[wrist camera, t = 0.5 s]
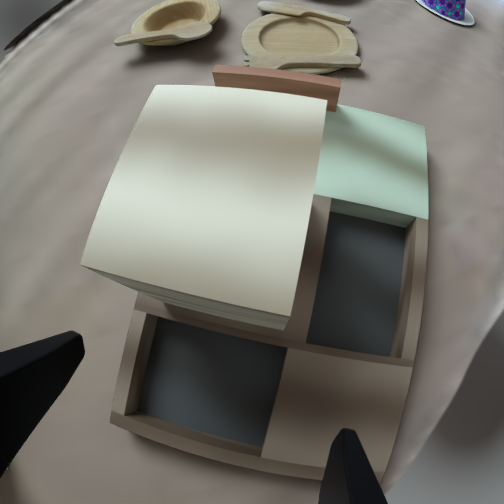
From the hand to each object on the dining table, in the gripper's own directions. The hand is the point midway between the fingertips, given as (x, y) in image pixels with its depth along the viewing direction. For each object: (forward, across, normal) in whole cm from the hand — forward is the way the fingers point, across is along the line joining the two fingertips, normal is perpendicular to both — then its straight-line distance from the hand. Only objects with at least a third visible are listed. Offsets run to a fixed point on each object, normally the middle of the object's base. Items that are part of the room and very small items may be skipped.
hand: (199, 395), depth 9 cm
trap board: (+15, -2, +2) cm, 15 cm away
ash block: (+13, +2, +1) cm, 13 cm away
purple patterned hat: (+47, -16, -36) cm, 61 cm away
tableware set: (+37, +13, -24) cm, 46 cm away
